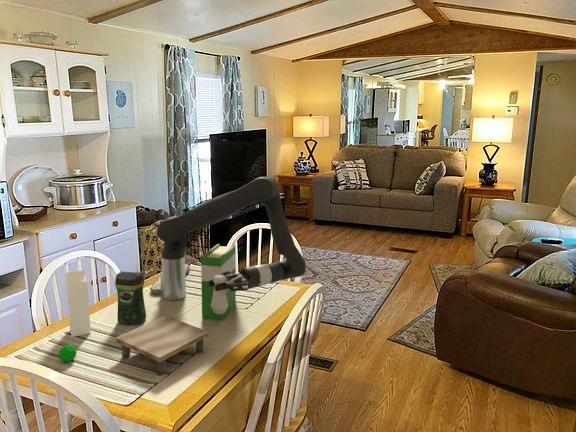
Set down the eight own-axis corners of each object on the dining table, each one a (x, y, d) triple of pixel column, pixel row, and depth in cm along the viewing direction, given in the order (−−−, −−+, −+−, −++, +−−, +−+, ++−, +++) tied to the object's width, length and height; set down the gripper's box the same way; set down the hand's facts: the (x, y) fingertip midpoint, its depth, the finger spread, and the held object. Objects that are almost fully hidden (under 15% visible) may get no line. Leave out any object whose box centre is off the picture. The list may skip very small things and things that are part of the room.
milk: (90, 333, 161) (86, 272, 156) (71, 337, 158) (66, 275, 153) (88, 326, 166) (84, 267, 161) (69, 329, 163) (64, 269, 158)
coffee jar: (149, 317, 174) (147, 269, 170) (140, 326, 167) (137, 277, 162) (124, 315, 175) (121, 267, 171) (114, 324, 168) (111, 275, 164)
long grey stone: (195, 271, 228) (175, 271, 229) (194, 261, 227) (174, 261, 228) (168, 295, 193) (145, 295, 195) (167, 283, 192) (144, 283, 194)
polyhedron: (68, 354, 147) (67, 340, 146) (80, 358, 145) (79, 344, 144) (55, 362, 142) (54, 348, 141) (67, 366, 141) (66, 351, 140)
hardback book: (218, 300, 191) (217, 243, 186) (235, 302, 190) (235, 245, 184) (202, 318, 174) (201, 257, 169) (221, 321, 173) (220, 258, 167)
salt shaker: (224, 316, 157) (224, 279, 154) (208, 314, 158) (208, 277, 155) (230, 309, 162) (230, 273, 159) (214, 307, 164) (214, 271, 161)
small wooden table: (116, 356, 146) (115, 337, 145) (166, 332, 163) (165, 315, 161) (160, 378, 136) (159, 357, 134) (208, 350, 152) (208, 331, 150)
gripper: (245, 260, 171) (202, 268, 161) (267, 272, 160) (222, 282, 150) (245, 279, 173) (202, 289, 163) (266, 293, 161) (222, 303, 152)
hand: (212, 285), depth 156 cm, fingers closed on salt shaker, 4 cm apart
